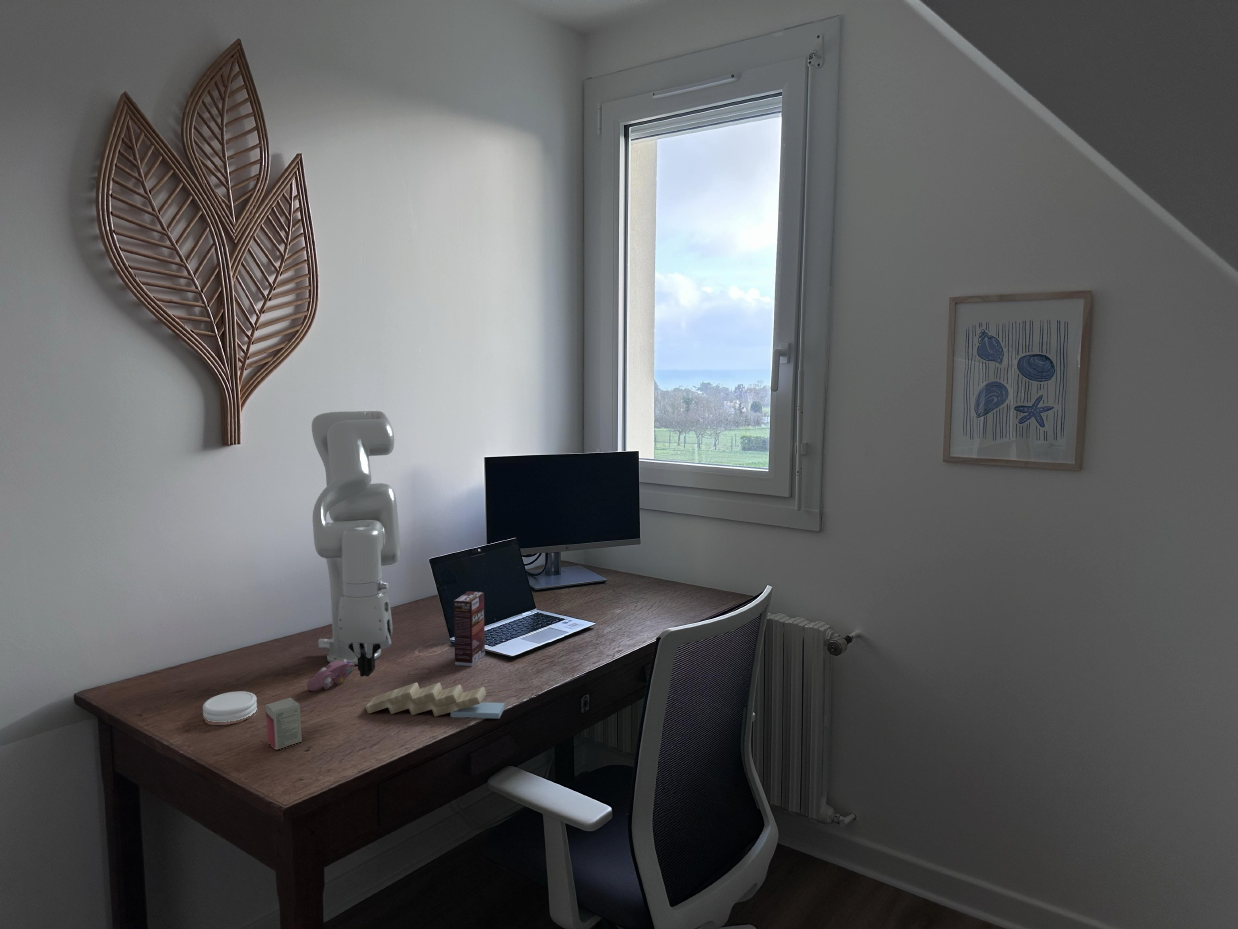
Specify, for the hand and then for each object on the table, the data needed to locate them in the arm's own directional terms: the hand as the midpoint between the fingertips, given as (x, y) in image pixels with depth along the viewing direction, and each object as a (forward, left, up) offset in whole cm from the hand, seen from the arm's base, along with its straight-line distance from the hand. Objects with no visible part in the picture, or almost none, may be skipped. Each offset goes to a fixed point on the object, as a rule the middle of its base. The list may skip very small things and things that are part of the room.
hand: (366, 673), depth 167 cm
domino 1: (+1, 0, -7) cm, 7 cm away
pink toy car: (-13, +11, -8) cm, 19 cm away
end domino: (+18, 0, -7) cm, 20 cm away
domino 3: (+10, 0, -7) cm, 12 cm away
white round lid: (-27, -5, -8) cm, 29 cm away
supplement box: (+14, +29, -8) cm, 33 cm away
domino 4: (+15, 0, -7) cm, 16 cm away
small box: (-10, -16, -8) cm, 20 cm away
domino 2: (+5, 0, -7) cm, 9 cm away
